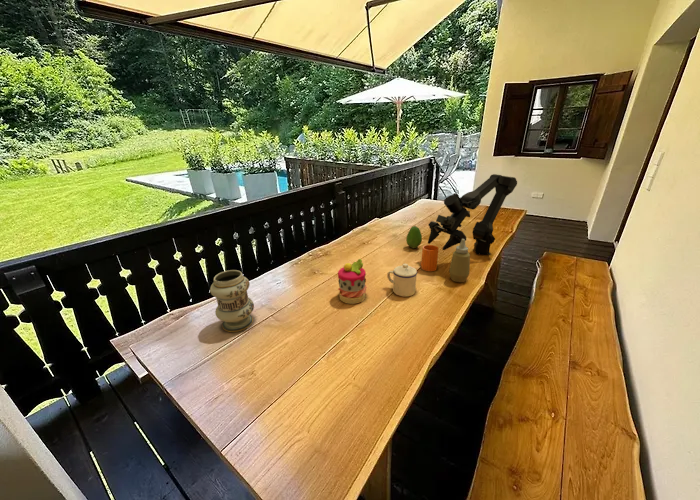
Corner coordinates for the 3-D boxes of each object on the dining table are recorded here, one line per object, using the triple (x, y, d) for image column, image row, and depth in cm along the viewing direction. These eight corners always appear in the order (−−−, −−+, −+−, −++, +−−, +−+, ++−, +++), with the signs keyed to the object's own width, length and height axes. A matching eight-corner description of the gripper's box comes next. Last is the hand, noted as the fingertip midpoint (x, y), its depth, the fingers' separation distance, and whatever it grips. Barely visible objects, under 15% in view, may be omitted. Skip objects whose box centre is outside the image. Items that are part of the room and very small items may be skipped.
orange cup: (434, 264, 139) (436, 244, 135) (438, 271, 133) (440, 250, 129) (419, 264, 140) (421, 244, 136) (422, 271, 133) (424, 250, 129)
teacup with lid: (419, 289, 119) (421, 262, 114) (409, 299, 112) (411, 271, 107) (392, 281, 125) (393, 256, 121) (381, 290, 118) (382, 264, 114)
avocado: (414, 251, 154) (416, 229, 150) (403, 247, 160) (404, 226, 155) (424, 247, 159) (425, 225, 155) (412, 243, 165) (413, 222, 160)
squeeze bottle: (469, 284, 121) (476, 243, 114) (449, 283, 123) (453, 242, 116) (466, 275, 128) (472, 236, 122) (447, 274, 130) (451, 235, 123)
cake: (346, 307, 108) (345, 269, 102) (334, 293, 117) (332, 258, 111) (371, 299, 113) (371, 263, 107) (357, 287, 121) (357, 253, 116)
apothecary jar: (227, 312, 107) (217, 267, 100) (261, 312, 106) (253, 266, 99) (212, 334, 95) (200, 284, 89) (249, 334, 95) (240, 284, 88)
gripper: (433, 203, 137) (412, 230, 137) (465, 213, 122) (442, 243, 121) (444, 217, 144) (424, 243, 143) (475, 228, 129) (454, 257, 128)
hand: (435, 246), depth 134 cm, fingers open, 9 cm apart
